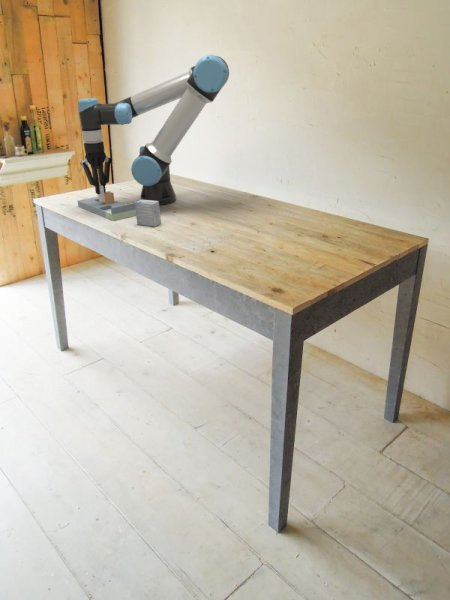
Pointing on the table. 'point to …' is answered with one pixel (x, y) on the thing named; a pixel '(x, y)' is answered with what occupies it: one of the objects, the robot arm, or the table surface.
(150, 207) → the medicine box
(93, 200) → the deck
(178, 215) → the table surface
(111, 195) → the block
